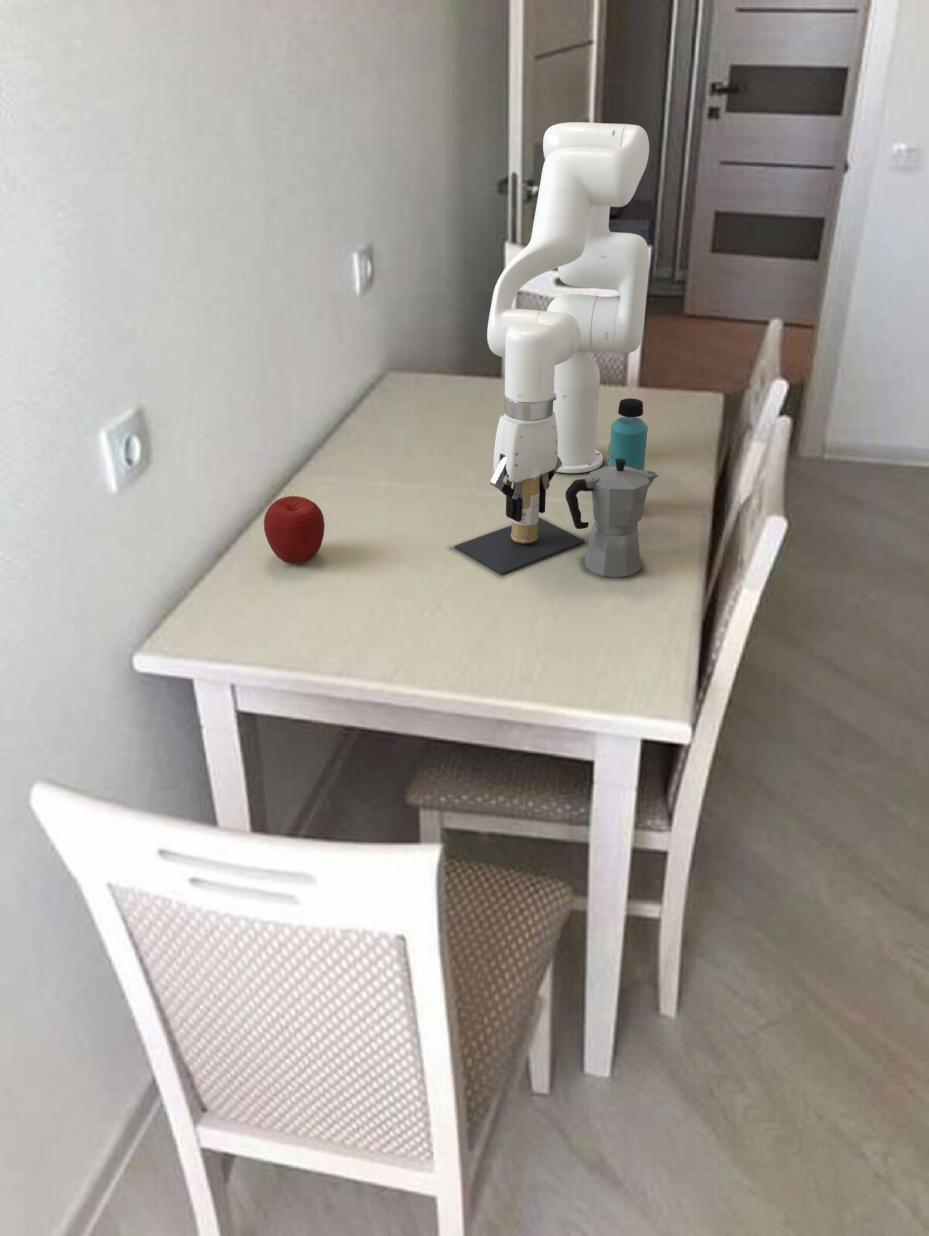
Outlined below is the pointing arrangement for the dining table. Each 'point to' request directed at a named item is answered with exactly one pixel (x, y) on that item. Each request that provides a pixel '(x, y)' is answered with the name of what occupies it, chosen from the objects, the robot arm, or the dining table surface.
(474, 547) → the mat
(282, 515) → the apple
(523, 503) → the sprinkles bottle
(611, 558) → the coffeepot
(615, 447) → the beverage bottle
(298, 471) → the dining table surface
